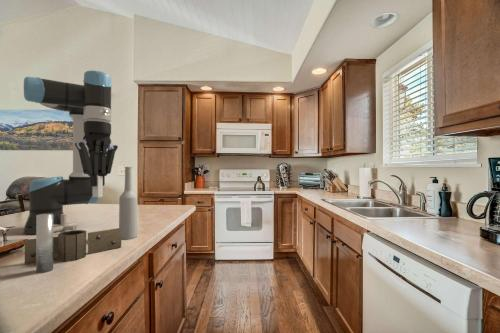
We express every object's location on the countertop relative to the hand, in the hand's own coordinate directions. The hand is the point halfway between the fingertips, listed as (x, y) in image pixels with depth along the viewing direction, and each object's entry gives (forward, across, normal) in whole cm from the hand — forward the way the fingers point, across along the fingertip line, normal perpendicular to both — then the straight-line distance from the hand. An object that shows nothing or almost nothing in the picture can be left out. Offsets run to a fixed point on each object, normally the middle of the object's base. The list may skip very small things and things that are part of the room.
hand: (97, 196), depth 83 cm
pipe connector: (+19, +6, +27) cm, 34 cm away
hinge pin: (+19, -14, +2) cm, 23 cm away
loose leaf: (+18, +4, +2) cm, 19 cm away
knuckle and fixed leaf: (+19, -7, +8) cm, 21 cm away
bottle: (+19, +20, +9) cm, 29 cm away
